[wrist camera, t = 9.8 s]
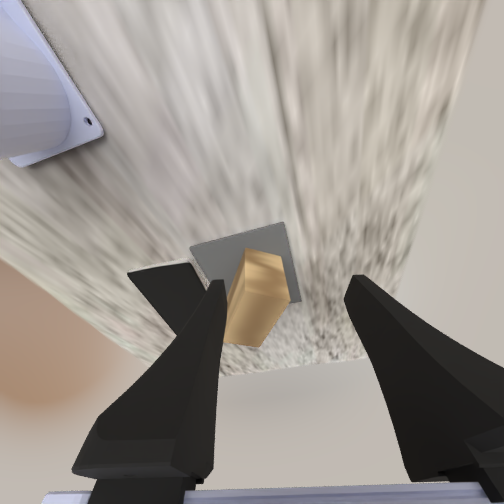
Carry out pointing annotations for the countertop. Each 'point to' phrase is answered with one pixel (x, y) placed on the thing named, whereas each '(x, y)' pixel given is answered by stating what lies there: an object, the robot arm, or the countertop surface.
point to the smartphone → (171, 289)
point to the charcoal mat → (232, 248)
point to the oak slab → (255, 298)
